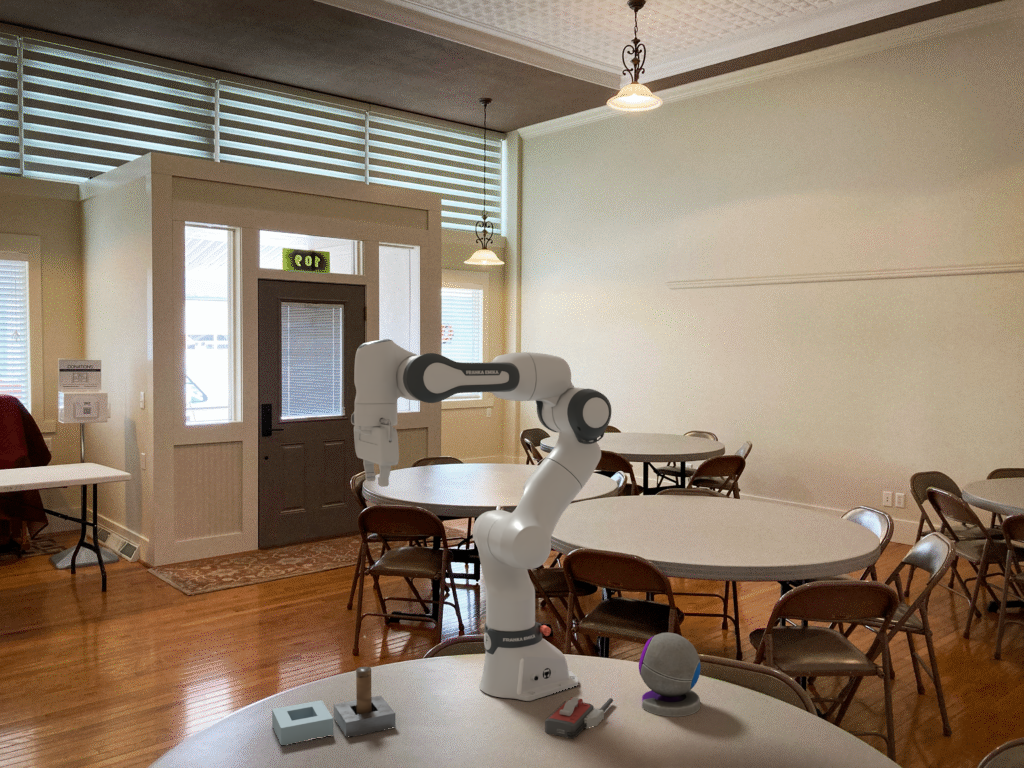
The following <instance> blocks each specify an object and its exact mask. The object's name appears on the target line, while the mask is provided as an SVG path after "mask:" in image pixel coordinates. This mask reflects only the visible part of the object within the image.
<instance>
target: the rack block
mask: <svg viewBox="0 0 1024 768" xmlns="http://www.w3.org/2000/svg"><path fill="white" fill-rule="evenodd" d="M271 723H272V725H271V726H273V727H272V728H274V729H273V731H274V733H275V736H276V735H277V736H276V738H277V737H278V738H277V740H278V739H279V740H278V742H279V744H281V745H286V746H288V745H287V744H291V743H295V742H299V741H304V740H308V739H311V738H317V737H324V736H328V735H333V736H334V716H332V714H331V713H330V710H329V709H328V708H327V706H326V705H325V703H324V701H323V700H322V699H321V700H319V699H318V700H314V701H309V702H304V703H300V704H299V703H298V704H293V705H287V706H281V707H276V708H275V707H274V708H271ZM281 745H280V746H281ZM291 745H292V744H291Z"/></svg>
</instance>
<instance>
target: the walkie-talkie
mask: <svg viewBox="0 0 1024 768" xmlns="http://www.w3.org/2000/svg"><path fill="white" fill-rule="evenodd" d="M613 702H614V699H613V698H612V697H610V698H608V699H607V700H606V702H605V703H604V704H603V705H602V706H601V707H600V708H595V707H594V705H593V704H591V703H588V702H584V700H583V698H579V697H574V696H571V697H570V698H569V699H568V700H565V701H564V702H562V703H561V705H559V707H557V709H555V710H554V711H553V712H552V713H551V714H550V715H549V716H548V717H547V718H546V719H545V720H544V729H545V730H544V732H545V733H546V734H547V735H552V734H554V735H553V736H557V735H559V736H558V737H562V736H563V737H562V738H566V737H568V739H575V738H574V737H576V736H577V735H579V734H580V733H581V732H583V730H584V729H583V728H589V727H592V726H596V727H597V726H598V725H599V724H600V723H601V722H602V721H601V720H602V719H603V720H604V718H605V711H607V709H608V708H609V707H610V706H611V704H612V703H613ZM600 721H601V722H600ZM599 722H600V723H599ZM582 729H583V730H582ZM589 729H590V728H589ZM576 738H577V737H576Z"/></svg>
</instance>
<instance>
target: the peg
mask: <svg viewBox="0 0 1024 768" xmlns="http://www.w3.org/2000/svg"><path fill="white" fill-rule="evenodd" d="M355 673H356V674H355V676H356V677H355V678H356V679H355V681H356V684H355V685H356V686H355V687H356V688H355V689H356V690H355V691H356V693H355V695H356V699H355V700H357V715H358V714H363V713H369V712H372V697H373V696H372V668H371V667H370V666H360V667H357V668H356V669H355Z"/></svg>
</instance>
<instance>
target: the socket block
mask: <svg viewBox="0 0 1024 768" xmlns="http://www.w3.org/2000/svg"><path fill="white" fill-rule="evenodd" d="M334 718H335V720H336V721H337V723H338V724H339V726H340V728H341V729H342V731H343V732H344V734H345V735H344V734H343V735H344V737H345V736H346V737H348V736H353V737H356V736H355V735H358V736H362V735H361V734H363V735H368V734H372V733H371V732H373V733H376V732H375V731H378V732H381V731H380V730H383V731H385V730H384V729H388V728H392V727H397V726H396V712H395V711H394V709H393V708H392V707H391V706H390V705H389V703H388V702H387V701H386V700H385V699H384V697H383V696H382V695H377V696H372V712H369V713H363V714H358V715H357V699H354V700H350V701H343V702H339V703H334V704H333V719H334ZM335 720H334V721H335ZM336 721H335V722H336ZM337 723H336V724H337ZM338 724H337V725H338ZM339 726H338V727H339ZM340 728H339V729H340ZM341 729H340V730H341ZM388 730H389V729H388ZM342 731H341V732H342ZM343 732H342V733H343ZM367 733H368V734H367ZM346 737H345V738H346Z"/></svg>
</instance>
